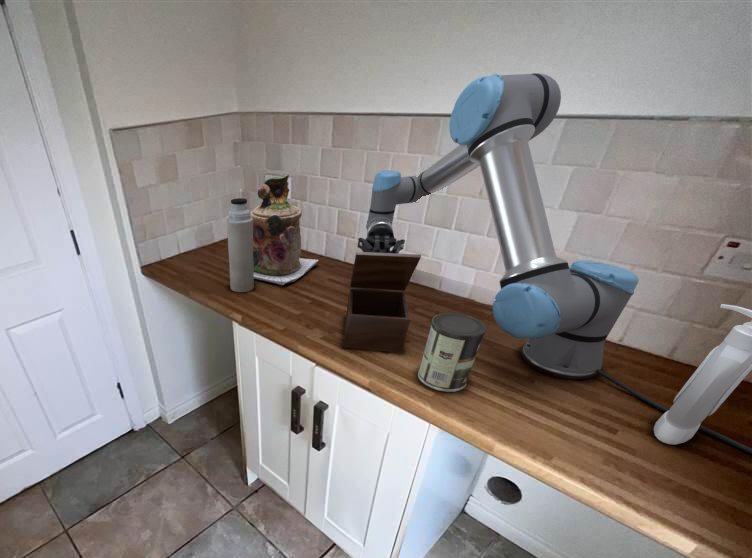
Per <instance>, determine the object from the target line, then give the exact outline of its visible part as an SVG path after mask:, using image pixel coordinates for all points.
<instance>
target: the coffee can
mask: <svg viewBox="0 0 752 558" xmlns="http://www.w3.org/2000/svg"><path fill="white" fill-rule="evenodd" d="M487 330H488V327H487V325H486V323H485V322H484V321H482V320H481V319H479V318H477V317H474V316H471V315H468V314H464V313H457V312H443V313H438V314H436V315H435V316H433V317H432V319H431V326H430V329H429V332H428V337H427V340H426V343H425V348H424V352H423V355H422V359H421V361H420V366H419V369H418V372H417V377H418V380H419V381H420V382H421V383H422V384H423V385H425V386H426V387H429V388H430V389H432V390H436V391H440V392H447V393H452V392H454V393H455V392H459V391H462V390H463V389H464V388H466V386H467V383H468V380H469V377H470V374H471V371H472V368H473V366H474V363H475V360H476V358H477V355H478V352H479V349H480V347H481V344H482V341H483V339H484V336H485V334H486V333H487Z"/></svg>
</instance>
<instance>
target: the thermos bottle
mask: <svg viewBox="0 0 752 558" xmlns="http://www.w3.org/2000/svg"><path fill="white" fill-rule="evenodd" d="M230 204H231V206H230V207H231V209H230V210H229V211H228V218H227V219H226V227H227V228H226V229H227V247H228V249H227V250H228V263H229V285H230V286H229V287H230V290H231V291H233V292H235V293H246V292H247V293H248V292H250V291H252V290H254V287H255V278H254V268H253V219H252V218H251V217H250V215H251V213H250V212H251V210H250V209H249V208H248V199H247V198H242V197H239V198H233V199H231V200H230Z"/></svg>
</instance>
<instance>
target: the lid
mask: <svg viewBox="0 0 752 558" xmlns="http://www.w3.org/2000/svg"><path fill="white" fill-rule="evenodd" d="M421 258H422V254H419V253H418V254H417V253H398V254H396V253H373V252H363V251H356V252H355V256H354V262H353V268H352V273H351V279H350V285H349V287H350V288H362V289H378V290H393V291H406V289H407V287H408V285H409V283H410V281H411V279H412V276H413V274H414V272H415V271H416V268H417V266H418V264H419V263H420V260H421Z"/></svg>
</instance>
